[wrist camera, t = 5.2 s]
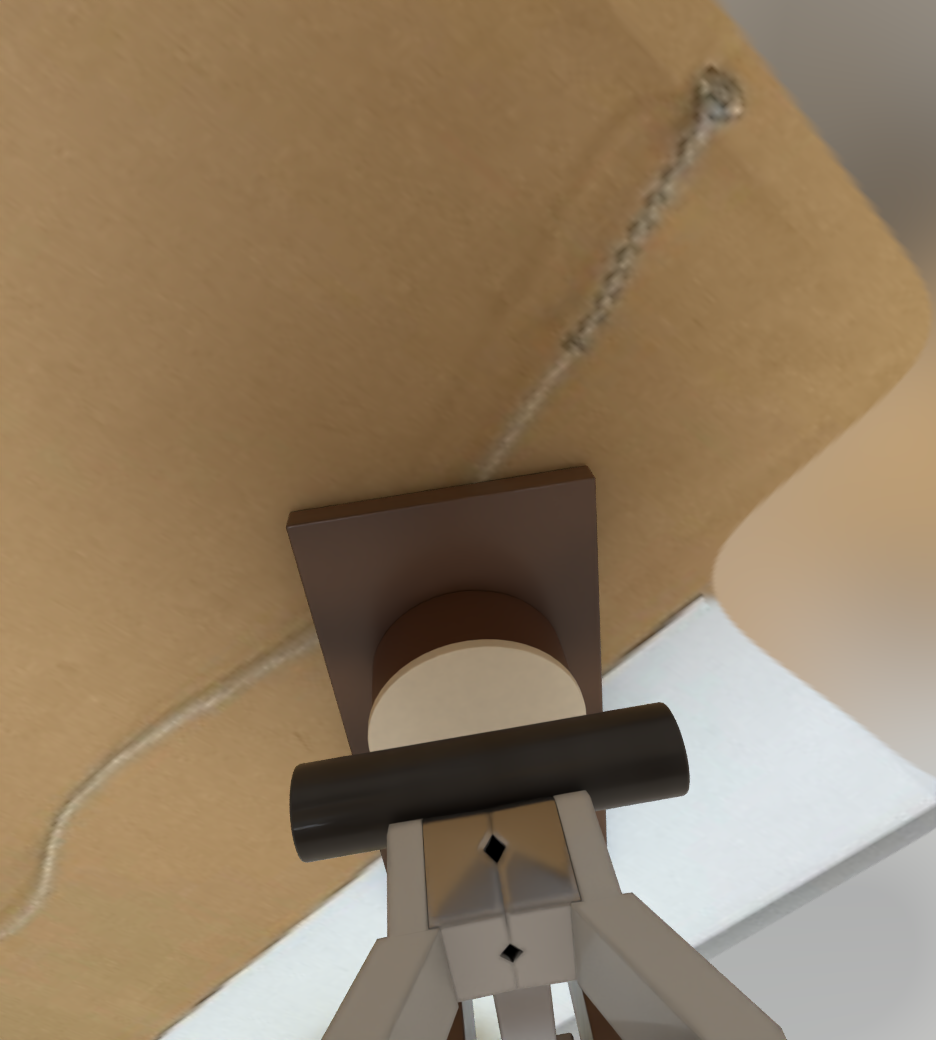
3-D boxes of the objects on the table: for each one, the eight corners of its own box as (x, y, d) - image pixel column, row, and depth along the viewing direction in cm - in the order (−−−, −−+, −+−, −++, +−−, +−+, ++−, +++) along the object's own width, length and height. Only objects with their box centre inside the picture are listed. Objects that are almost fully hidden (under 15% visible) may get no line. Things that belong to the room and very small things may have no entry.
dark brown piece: (289, 511, 22) (157, 1014, 9) (587, 464, 23) (862, 884, 10) (401, 905, 33) (413, 1394, 20) (602, 869, 33) (742, 1325, 20)
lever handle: (299, 723, 11) (279, 850, 9) (647, 664, 12) (706, 774, 9) (425, 1114, 18) (431, 1240, 16) (646, 1071, 18) (680, 1190, 16)
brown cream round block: (433, 555, 22) (441, 613, 20) (602, 634, 25) (630, 696, 22) (334, 702, 25) (328, 771, 22) (496, 761, 27) (508, 830, 25)
